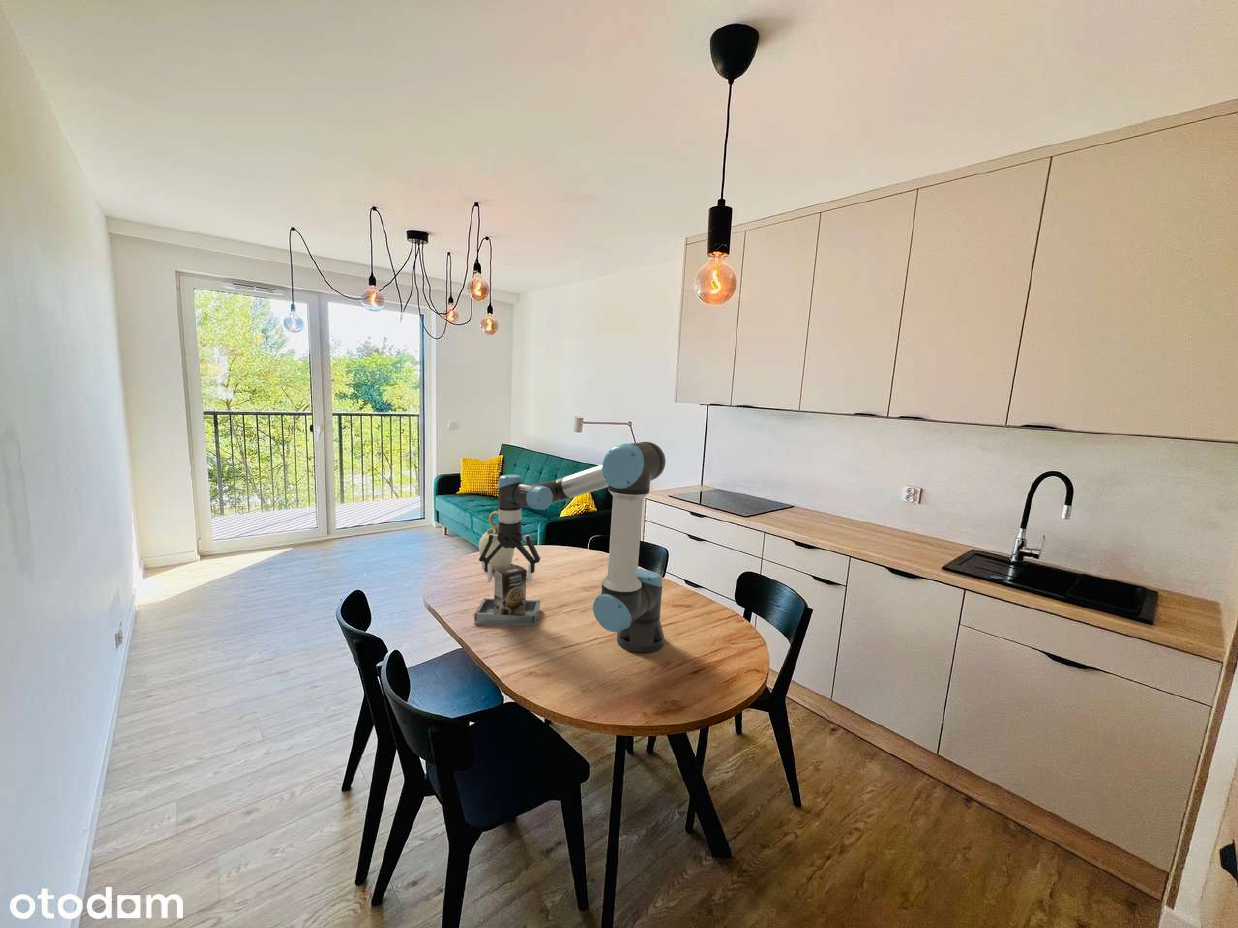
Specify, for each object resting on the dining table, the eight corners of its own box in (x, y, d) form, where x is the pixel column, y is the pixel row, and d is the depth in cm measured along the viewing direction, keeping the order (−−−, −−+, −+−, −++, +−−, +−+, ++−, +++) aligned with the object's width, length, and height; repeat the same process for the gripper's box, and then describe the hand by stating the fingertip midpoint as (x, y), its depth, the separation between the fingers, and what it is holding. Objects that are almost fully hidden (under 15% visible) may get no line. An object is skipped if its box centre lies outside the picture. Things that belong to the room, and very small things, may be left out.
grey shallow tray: (539, 609, 178) (540, 600, 177) (534, 626, 166) (534, 616, 165) (483, 607, 177) (483, 598, 177) (474, 623, 165) (474, 613, 165)
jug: (495, 575, 209) (496, 517, 205) (471, 566, 217) (471, 510, 213) (521, 565, 221) (523, 510, 218) (497, 557, 230) (498, 505, 226)
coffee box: (502, 621, 166) (503, 575, 164) (493, 614, 170) (493, 569, 168) (526, 613, 172) (527, 569, 170) (516, 607, 177) (517, 563, 174)
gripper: (548, 519, 171) (547, 578, 173) (475, 517, 170) (476, 576, 173) (545, 524, 163) (545, 586, 166) (469, 522, 163) (470, 584, 165)
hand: (509, 581), depth 169 cm, fingers open, 13 cm apart
